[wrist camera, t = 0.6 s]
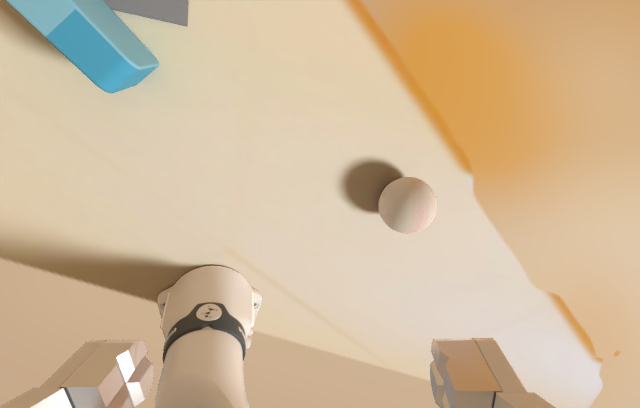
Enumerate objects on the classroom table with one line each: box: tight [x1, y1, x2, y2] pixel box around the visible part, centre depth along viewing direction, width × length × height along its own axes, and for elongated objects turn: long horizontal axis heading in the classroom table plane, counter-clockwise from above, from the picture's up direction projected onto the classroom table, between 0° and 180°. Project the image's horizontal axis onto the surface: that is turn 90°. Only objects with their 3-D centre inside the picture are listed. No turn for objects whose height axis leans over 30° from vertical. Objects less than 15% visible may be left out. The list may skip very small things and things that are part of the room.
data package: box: [6, 0, 159, 93], centre depth 36 cm, size 12×4×12 cm, turn 37°
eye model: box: [378, 177, 437, 233], centre depth 57 cm, size 10×10×10 cm
